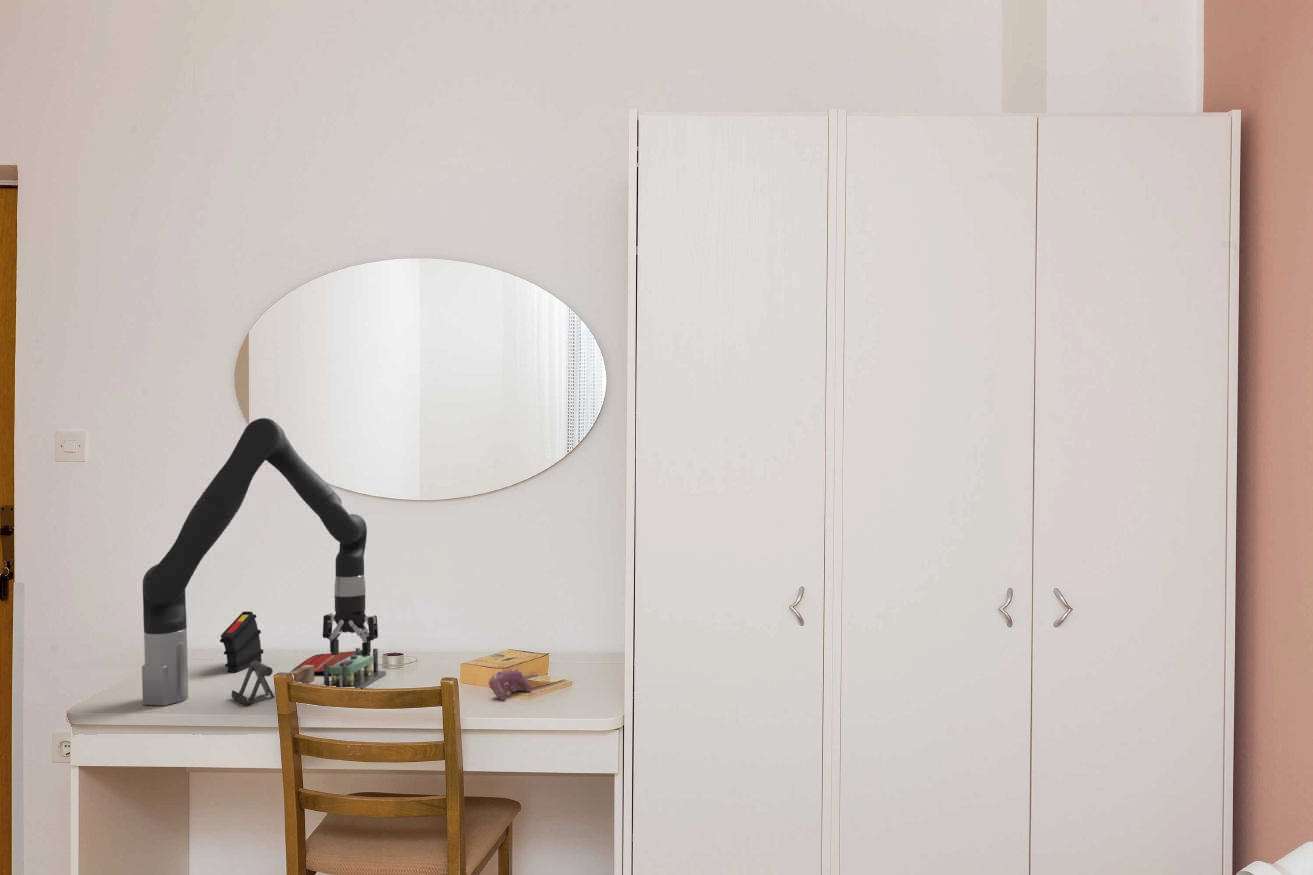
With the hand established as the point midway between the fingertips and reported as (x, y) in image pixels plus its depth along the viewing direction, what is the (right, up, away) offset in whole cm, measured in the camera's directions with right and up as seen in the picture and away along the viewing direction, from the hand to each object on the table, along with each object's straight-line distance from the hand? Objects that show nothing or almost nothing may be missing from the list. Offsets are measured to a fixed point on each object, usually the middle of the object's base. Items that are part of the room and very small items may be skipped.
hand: (350, 655), depth 237 cm
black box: (-35, -8, +17) cm, 40 cm away
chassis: (0, -7, +1) cm, 7 cm away
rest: (-13, -8, 0) cm, 15 cm away
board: (0, -3, 0) cm, 3 cm away
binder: (-12, -8, +18) cm, 23 cm away
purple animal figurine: (+43, -7, -11) cm, 45 cm away
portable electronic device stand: (-20, -8, -12) cm, 24 cm away
